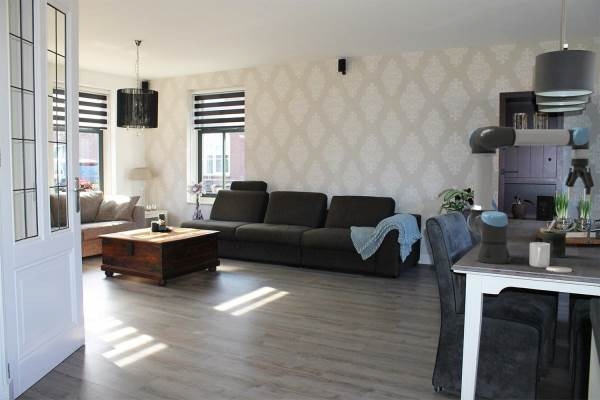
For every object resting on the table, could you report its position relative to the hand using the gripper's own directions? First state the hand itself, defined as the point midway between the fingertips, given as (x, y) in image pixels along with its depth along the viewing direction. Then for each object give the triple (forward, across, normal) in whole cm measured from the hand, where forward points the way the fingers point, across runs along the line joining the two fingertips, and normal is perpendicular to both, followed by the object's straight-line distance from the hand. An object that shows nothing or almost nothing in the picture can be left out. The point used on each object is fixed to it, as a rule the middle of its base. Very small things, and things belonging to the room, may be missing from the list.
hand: (578, 200), depth 257 cm
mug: (+28, 0, +14) cm, 32 cm away
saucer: (+28, -36, +30) cm, 55 cm away
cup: (+28, -27, +34) cm, 52 cm away
